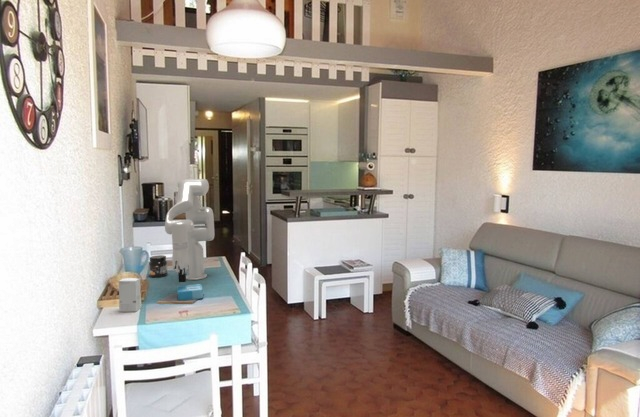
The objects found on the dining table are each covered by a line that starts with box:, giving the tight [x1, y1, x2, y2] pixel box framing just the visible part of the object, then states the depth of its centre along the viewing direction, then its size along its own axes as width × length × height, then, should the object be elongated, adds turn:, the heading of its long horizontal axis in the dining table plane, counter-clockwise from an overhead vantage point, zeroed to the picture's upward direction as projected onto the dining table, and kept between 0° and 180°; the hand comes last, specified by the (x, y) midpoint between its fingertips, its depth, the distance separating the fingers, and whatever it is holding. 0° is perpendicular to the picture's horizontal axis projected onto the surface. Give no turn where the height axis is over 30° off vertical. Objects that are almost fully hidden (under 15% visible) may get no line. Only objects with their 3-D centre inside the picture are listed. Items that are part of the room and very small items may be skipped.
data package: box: [177, 283, 204, 301], centre depth 229 cm, size 12×4×12 cm
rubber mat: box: [159, 293, 205, 304], centre depth 227 cm, size 14×18×1 cm
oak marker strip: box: [156, 300, 194, 305], centre depth 220 cm, size 1×18×1 cm, turn 83°
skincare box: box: [118, 277, 142, 313], centre depth 211 cm, size 8×6×15 cm
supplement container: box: [148, 254, 169, 279], centre depth 278 cm, size 10×10×12 cm
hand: (182, 281), depth 228 cm, fingers closed
